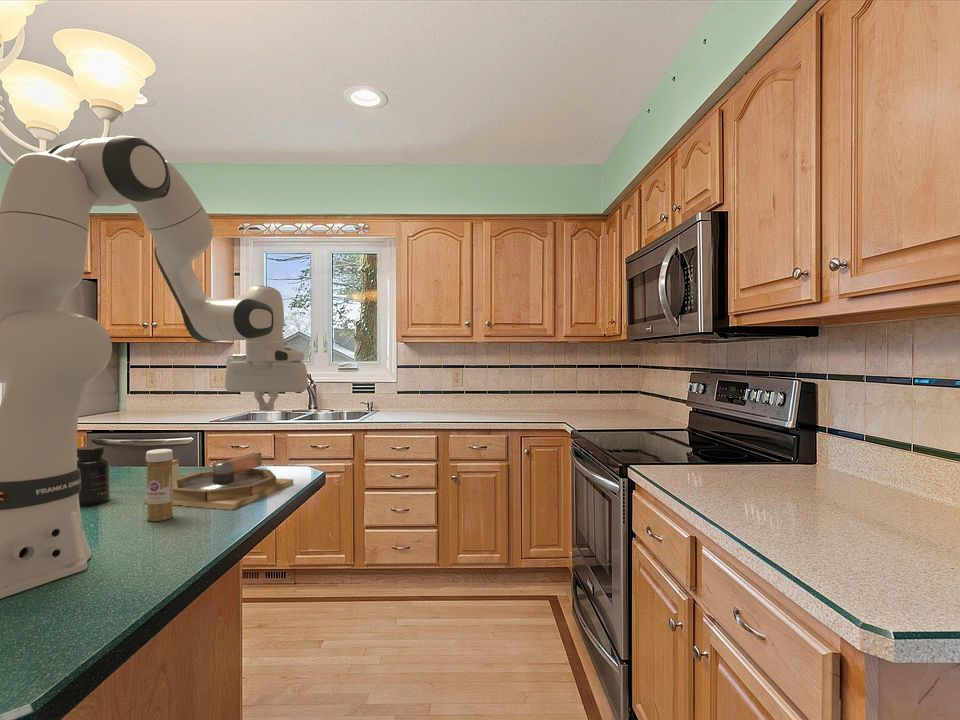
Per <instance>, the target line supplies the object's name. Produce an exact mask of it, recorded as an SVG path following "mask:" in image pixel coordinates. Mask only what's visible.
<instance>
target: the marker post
mask: <svg viewBox="0 0 960 720" xmlns="http://www.w3.org/2000/svg"><path fill="white" fill-rule="evenodd" d="M179 461H180V460H179V459H172V480H173V479H177V478H180V465H179V463H180V462H179Z"/></svg>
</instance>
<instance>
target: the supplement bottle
mask: <svg viewBox="0 0 960 720" xmlns="http://www.w3.org/2000/svg"><path fill="white" fill-rule="evenodd" d="M104 449H105V448H104V446H103V445H87V446H81V447H77V468H79V469H80V473H81V491H80V494H79V505H80V507H89V506H96V505H101V504H104V503H106V502H108V501H109V500H110V498H111V476H110V472H111V471H110V470H111V468H110V466H111V465H110V461H109V460H108V458H105V457H104V455H105V452H104Z"/></svg>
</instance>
